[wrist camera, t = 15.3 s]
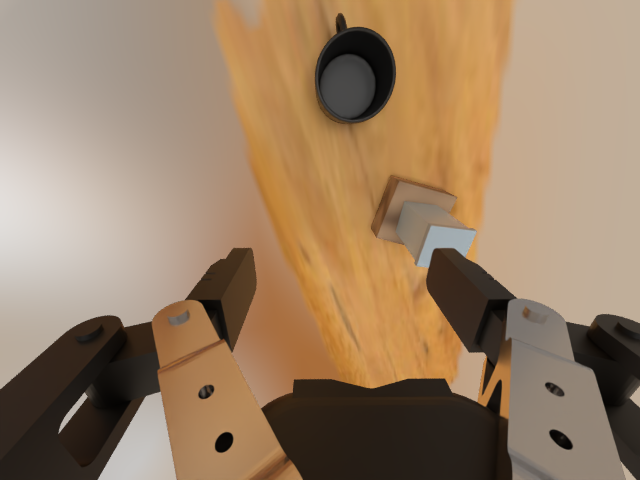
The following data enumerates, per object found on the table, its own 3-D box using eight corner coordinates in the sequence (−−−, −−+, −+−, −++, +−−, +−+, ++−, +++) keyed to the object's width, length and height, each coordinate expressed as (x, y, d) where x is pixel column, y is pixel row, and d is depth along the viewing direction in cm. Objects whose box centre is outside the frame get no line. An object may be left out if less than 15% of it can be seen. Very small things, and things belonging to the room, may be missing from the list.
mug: (370, 17, 33) (387, -19, 25) (382, 114, 38) (400, 110, 30) (303, 39, 34) (298, 11, 26) (324, 130, 39) (325, 132, 31)
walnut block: (390, 175, 42) (399, 181, 38) (442, 189, 43) (457, 197, 39) (370, 226, 46) (376, 237, 42) (418, 239, 47) (429, 251, 43)
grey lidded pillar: (403, 199, 39) (431, 225, 29) (438, 204, 39) (477, 231, 30) (394, 232, 41) (416, 266, 32) (427, 236, 42) (458, 270, 32)
